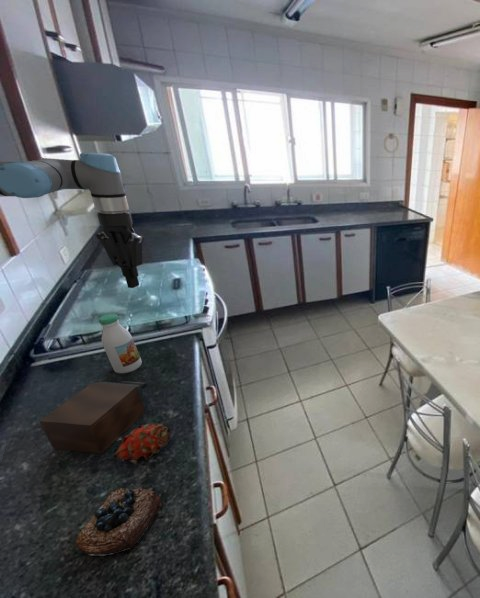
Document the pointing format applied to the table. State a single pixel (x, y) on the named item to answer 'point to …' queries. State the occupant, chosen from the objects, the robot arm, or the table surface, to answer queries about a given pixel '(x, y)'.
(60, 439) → the cabinet
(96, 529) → the pastry
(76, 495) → the table surface
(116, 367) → the milk bottle
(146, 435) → the dragon fruit
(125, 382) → the drawer
